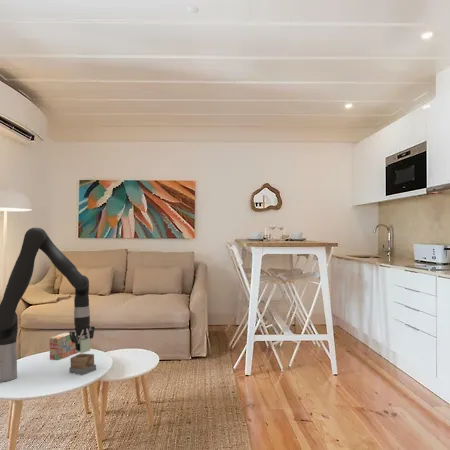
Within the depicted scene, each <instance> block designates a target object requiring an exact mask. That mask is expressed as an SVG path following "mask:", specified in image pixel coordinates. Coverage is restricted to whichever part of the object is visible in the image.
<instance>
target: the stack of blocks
mask: <svg viewBox="0 0 450 450" xmlns="http://www.w3.org/2000/svg"><path fill="white" fill-rule="evenodd" d="M75 336H76V333H75ZM78 337H79V336H78ZM83 337H84V336H82V338H83ZM84 338H85V337H84ZM77 353H79V352H76V350H75V343H72V341H71V337H70V333H69V332H63V333H59V334H57V335H54V336H50V337H49V360H52V361H60V360H62V359H66V358H68V357H71V356H72V355H75V354H77Z"/></svg>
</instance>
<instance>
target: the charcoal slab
mask: <svg viewBox="0 0 450 450" xmlns="http://www.w3.org/2000/svg"><path fill="white" fill-rule="evenodd" d="M68 369H69V373H70V374H73V373H75V374H74V375H78V374H79V376H84V375H87V374H89V373H92V372H94V371H97V364H94V365H92V366H90V367H88V368H86V369H74V368H71V366H70V367H69V368H68Z"/></svg>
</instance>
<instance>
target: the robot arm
mask: <svg viewBox="0 0 450 450" xmlns="http://www.w3.org/2000/svg"><path fill="white" fill-rule="evenodd" d="M39 250H40V251H41V252H42V253H44V254H45V255H46V256H47V258H48V259H49V260H50V261H51V263H52V265H53V266H54V267H55V268H56V269H57V270H58V271H59V272H60V273H61V274H62V275H63V276H64V277H65V278H66V279H67V281H68V282H69V284H70V285H71V286H72V287H73V288H74V290H75V291H74V292H75V293H74V294H75V295H74V300H73V301H74V304H73V305H74V306H73V307H74V308H73V324H74V329H73V330H72V331H71V330H70V331H69V332H68V333H70V337H71V341H72V343H75V347H76V350H77V351H80V340H81V338H82V336H84V338H90V340H92V339H93V338H94V336H95V335H94V334H95V329H96V328H95V326H94V325H93V326H92V325H90V324H91V315H90V314H91V310H90V299H89V297H90V296H89V293H90V280H89V277H87V276H86V275H83V274H82V273H81V272H80V271H79V270H78V269H77V268H78V267H76V264H74V263H73V262H72V261H71V260H70V259H69V258H68V257H67V256H66V255H65V254H64V253H63V252H62V251H61V250H60V249H59V247H57V245H56V244H54V242H53V241H52V240H51V238H50V237H49V235H48V233H47V232H46V231H45V229H43V228H41V227H31V228H29V229H28V230H27V231H26V232H25V233H24V237H23V241H22V244H21V248H20V252H19V255H18V257H17V259H16V261H15V263H14V266H13V268H12V270H11V272H10V275H9V277H8V280H7V281H8V282H7V284H6V286H5V290H4V293H3V296H2V299H1V302H0V383H3V382H8V381H12V380H15V379H17V377H18V358H17V357H18V352H17V351H18V350H17V347H18V346H17V337H18V332H19V331H18V330H19V327H18V324H19V321H18V319H19V318H18V313H17V312H16V311H17V308H18V305H19V303H20V301H21V299H22V298H23V296H24V294H25V293H26V291H27V289H28V287H29V285H30V282H31V279H32V277H33V273H34V269H35V261H36V260H35V259H36V257H37V255H38V252H39ZM75 334H76V336H75ZM78 336H79V337H78Z"/></svg>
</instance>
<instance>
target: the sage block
mask: <svg viewBox="0 0 450 450" xmlns="http://www.w3.org/2000/svg"><path fill="white" fill-rule="evenodd" d="M75 350H76V347H75ZM90 351H91V339H90V338H85V337H83V338H81V340H80V351H77V350H76V352H78V353H79V354H80V353H83V354H85V353H87V352H90Z"/></svg>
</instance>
